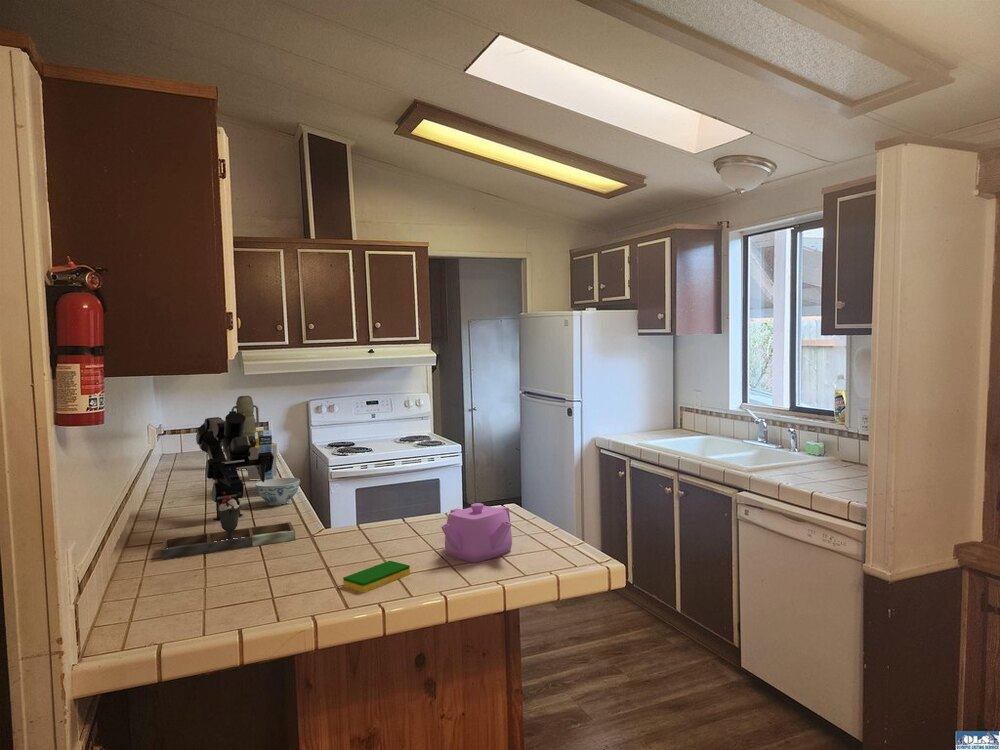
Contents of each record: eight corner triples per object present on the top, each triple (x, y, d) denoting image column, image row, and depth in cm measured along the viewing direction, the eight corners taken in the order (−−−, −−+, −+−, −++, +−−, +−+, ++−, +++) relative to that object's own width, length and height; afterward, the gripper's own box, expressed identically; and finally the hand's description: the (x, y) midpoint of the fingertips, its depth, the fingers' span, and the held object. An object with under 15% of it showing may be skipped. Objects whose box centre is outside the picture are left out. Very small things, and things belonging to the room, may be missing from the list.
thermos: (263, 468, 304) (259, 395, 303) (237, 471, 298) (233, 397, 297) (259, 466, 312) (255, 395, 311) (233, 469, 305) (229, 396, 304)
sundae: (218, 549, 171) (215, 494, 171) (216, 543, 177) (214, 489, 177) (244, 545, 174) (241, 490, 174) (242, 539, 180) (239, 486, 180)
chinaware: (284, 497, 236) (283, 476, 236) (309, 501, 227) (308, 479, 227) (247, 505, 224) (246, 483, 223) (273, 510, 215) (271, 487, 215)
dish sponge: (411, 575, 146) (410, 565, 146) (363, 594, 135) (363, 583, 135) (390, 570, 150) (389, 560, 150) (342, 588, 139) (342, 577, 139)
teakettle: (511, 541, 168) (509, 495, 168) (513, 562, 151) (511, 510, 151) (447, 544, 168) (445, 498, 168) (442, 565, 151) (440, 513, 151)
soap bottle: (251, 476, 282) (248, 429, 282) (281, 474, 284) (279, 427, 283) (242, 482, 269) (240, 432, 269) (274, 480, 271) (271, 431, 270)
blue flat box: (261, 487, 257) (258, 431, 256) (274, 485, 259) (271, 430, 258) (260, 496, 239) (257, 436, 238) (274, 495, 240) (271, 434, 240)
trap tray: (161, 559, 164) (160, 550, 164) (164, 548, 174) (164, 539, 174) (295, 540, 177) (295, 531, 177) (290, 530, 188) (290, 522, 188)
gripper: (203, 432, 186) (216, 466, 176) (268, 426, 197) (283, 457, 187) (201, 461, 191) (212, 496, 181) (264, 453, 203) (278, 486, 192)
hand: (247, 483), depth 185 cm, fingers open, 9 cm apart
